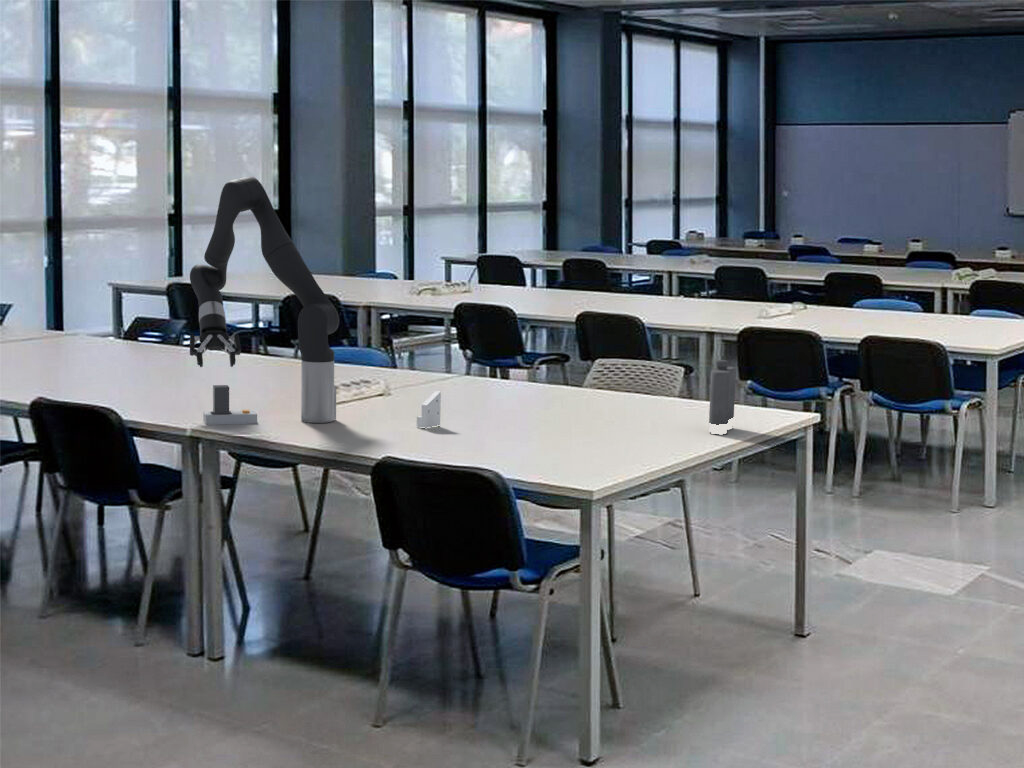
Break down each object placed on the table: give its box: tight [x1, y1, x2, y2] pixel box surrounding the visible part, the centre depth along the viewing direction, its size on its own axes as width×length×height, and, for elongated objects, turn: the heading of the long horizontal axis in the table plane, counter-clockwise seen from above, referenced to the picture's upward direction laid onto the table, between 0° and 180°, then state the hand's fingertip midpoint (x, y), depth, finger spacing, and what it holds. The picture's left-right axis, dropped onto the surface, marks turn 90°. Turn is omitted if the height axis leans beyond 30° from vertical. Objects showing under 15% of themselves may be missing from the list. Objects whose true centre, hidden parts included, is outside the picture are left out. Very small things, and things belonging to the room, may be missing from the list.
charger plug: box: [212, 384, 230, 415], centre depth 420 cm, size 4×4×10 cm
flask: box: [708, 359, 737, 425], centre depth 427 cm, size 15×6×20 cm, turn 162°
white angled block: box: [416, 390, 442, 428], centre depth 423 cm, size 4×10×9 cm
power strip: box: [202, 409, 258, 426], centre depth 421 cm, size 14×7×4 cm, turn 107°
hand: (216, 365), depth 429 cm, fingers open, 8 cm apart
